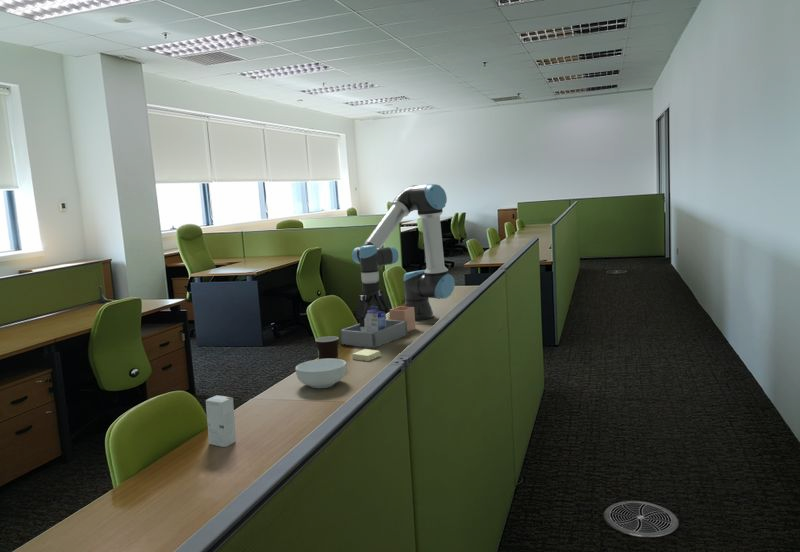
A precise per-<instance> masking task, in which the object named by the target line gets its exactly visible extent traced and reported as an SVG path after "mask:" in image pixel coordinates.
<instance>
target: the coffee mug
mask: <svg viewBox="0 0 800 552" xmlns="http://www.w3.org/2000/svg"><path fill="white" fill-rule="evenodd" d="M314 341H315V345H316V346H315V347H316V350H317V355H318V359H327V358H333V359H339V341H340V337H338V336H334V335H332V336H328V335H327V336H321V337H318V338H316V339H315V340H314Z"/></svg>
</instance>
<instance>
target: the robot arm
mask: <svg viewBox="0 0 800 552" xmlns="http://www.w3.org/2000/svg"><path fill="white" fill-rule="evenodd" d="M447 199H448V197H447V193H446V191H445V189H444V188H443V187H442V186H441V185H440V184H437V183H435V184H434V183H428V184H426V183H425V184H418V185H417V184H414V185H413V184H412V185H410V186H408V187H407V188H405V189H403V190H402V191H401V192H400V193H398V195H397V196H396V197H395V198H394V199H393V201H392V202H391V203H390V208H389V209H388V211H387V212H386V213H385V214H384V216H383V217H382V219H381V220H380V221H379V223H378V224H377V225H376V227H375V228H374V230H373V231H372V232H371V234H370V235H368V238H367V239H366V240H365V241H364V242H363V244H362V245H361V246H358V247H355V248H354V249H353V250H352V252H351V257H352V258H351V259H352V261H353V262H354V263H356V264H360V266H359V267H360V276H361V282H362V283H361V290H362V293H364V294H363V295H359V297H358V305H357V308H356V309H357V310H356V312H355V313H356V314H355V319H358V321H359V324H360V327H361V332H367V324H366V319H365V316H366V314H367V311H369V310H370V307H371V306H372V304H373V305H375V306H378V307H377V310H378V311H385V322H386V320H387V316H386V315H387V314H386V313H388V312H389V311H388V310H390V309H389V306H388V302H387V301H386V298H385V296H384V291H383V290H380V288H381V285H380V282H379V281H380V272H379V267H383V266H387V265H388V266H389V265H393V264H396V263H397V262H398V261H399V256H400V255H399V251H398V249H397V248H396V247H394V246H386V247H383V246H384V245H385V243H386V242H387V240H388V239H389V238H390V237H391V235H392V234H393V232H394V231H395V230H396V229H397V227H398V226H399V224H400V223H401V221H402V220H403V219H404V218H406V217H407V216H409V214H410V213H411V212H413V211H417V215H418V216H419V217H420V218H421V225H422V234H423V235H422V236H423V245H424V253H425V254H424V255H425V265H426V267H425V269H421V270H414V271H409V272H406V273H404V274H403V291H404V300H405V301H404V302H405V303H404V306H403V307H414V312H415V321H422V320H428V319H432V318H434V311H433V309H432V306H431V303H430V300H429V298H431V299H438V300H440V299H445V300H446V299H447V298H450V296H452V293H454V290H455V284H456V282H455V279H454V277H453V276H452V274H449V268H447V267H446V266H445V256H444V247H443V235H442V227H441V226H442V224H441V215H442V214H443V209H444V208H445V207H446V205H447Z"/></svg>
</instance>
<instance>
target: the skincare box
mask: <svg viewBox="0 0 800 552" xmlns="http://www.w3.org/2000/svg"><path fill="white" fill-rule="evenodd" d="M234 409H235V407H234V398H233V397H231V396H227V395H226V396H224V395H219V394H218V395H217V394H216V395H213V396H212V397H209V398H207V399H205V410H206V420H207V423H206V424H207V433H208V434H207V435H208V443H209V445H213V446H216V447H222V448H226V447H228V446H231V445H232V444H234V443H235V442H237V438H236V423H235V410H234Z"/></svg>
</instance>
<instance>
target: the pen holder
mask: <svg viewBox="0 0 800 552" xmlns="http://www.w3.org/2000/svg"><path fill="white" fill-rule="evenodd" d="M389 320H396V321H407V333H408V332H411V331H413V330H417V329H416V320H415V312H414V307H404V306H402V305H399V306H397V307H394V308H391V309H389Z"/></svg>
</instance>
